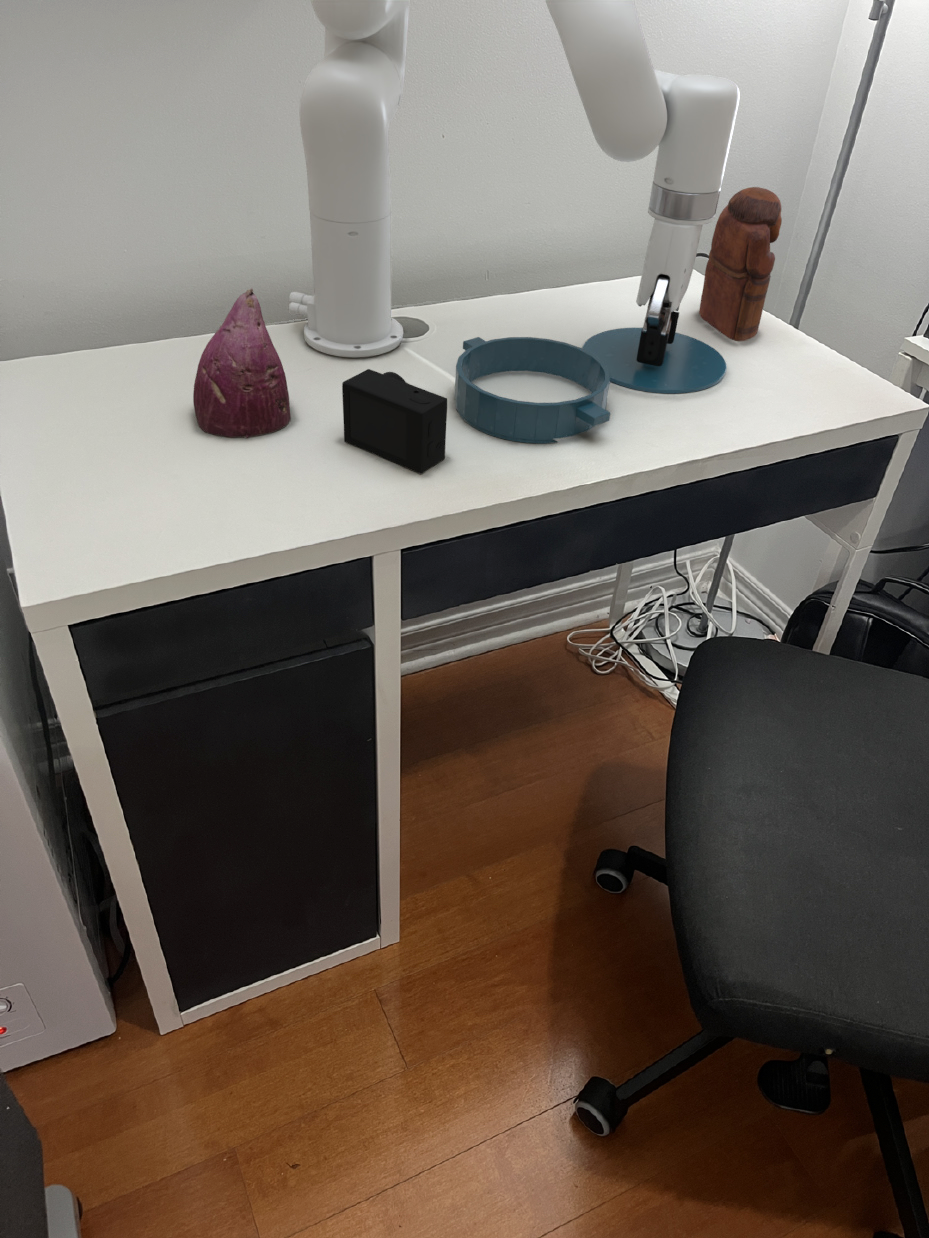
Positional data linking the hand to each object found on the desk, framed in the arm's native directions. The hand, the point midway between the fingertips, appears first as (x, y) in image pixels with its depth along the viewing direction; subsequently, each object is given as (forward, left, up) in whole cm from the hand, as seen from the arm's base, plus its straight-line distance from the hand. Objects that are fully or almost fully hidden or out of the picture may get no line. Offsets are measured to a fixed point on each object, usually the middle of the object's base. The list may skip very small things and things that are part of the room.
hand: (655, 351), depth 118 cm
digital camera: (-21, -33, -2) cm, 39 cm away
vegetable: (-39, -33, -2) cm, 51 cm away
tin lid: (0, 0, -1) cm, 1 cm away
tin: (-11, -17, -2) cm, 21 cm away
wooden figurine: (+7, +17, -2) cm, 18 cm away
